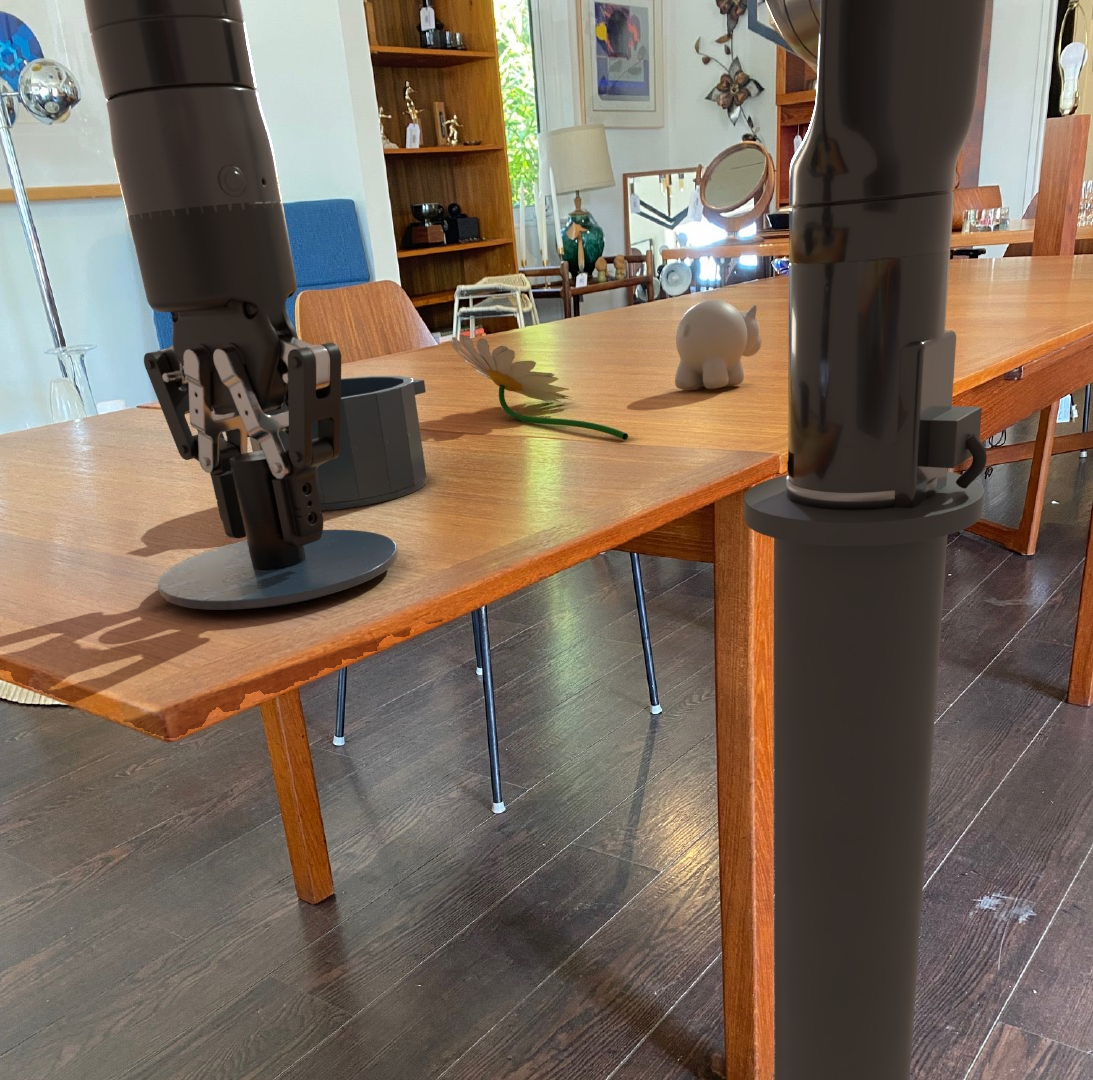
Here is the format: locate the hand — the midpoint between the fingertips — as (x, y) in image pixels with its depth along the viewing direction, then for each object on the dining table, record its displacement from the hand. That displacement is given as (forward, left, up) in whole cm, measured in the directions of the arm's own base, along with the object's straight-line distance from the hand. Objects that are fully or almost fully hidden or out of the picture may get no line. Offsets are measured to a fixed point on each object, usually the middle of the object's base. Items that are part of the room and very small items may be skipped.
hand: (273, 537), depth 60 cm
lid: (0, 0, -2) cm, 2 cm away
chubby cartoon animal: (+8, -67, -3) cm, 68 cm away
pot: (+14, -18, -3) cm, 23 cm away
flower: (+16, -45, -3) cm, 48 cm away
